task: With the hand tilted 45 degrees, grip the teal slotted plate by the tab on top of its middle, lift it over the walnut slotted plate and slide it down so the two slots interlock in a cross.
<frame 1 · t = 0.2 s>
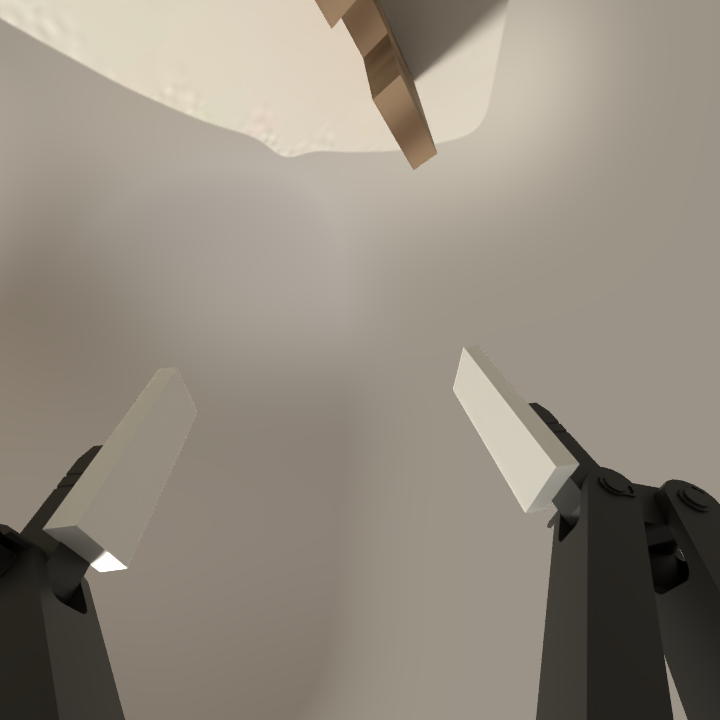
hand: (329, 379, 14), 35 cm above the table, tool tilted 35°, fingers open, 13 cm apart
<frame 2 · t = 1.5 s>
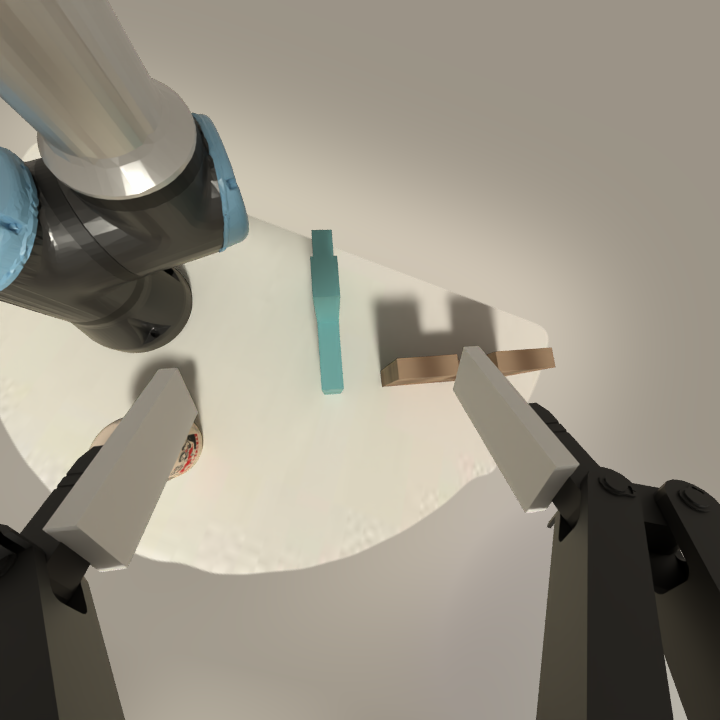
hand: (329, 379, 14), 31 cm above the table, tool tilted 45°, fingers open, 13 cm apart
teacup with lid: (178, 436, 42), on the table
teal slotted plate: (328, 331, 46), on the table
walnut slotted plate: (441, 374, 47), on the table
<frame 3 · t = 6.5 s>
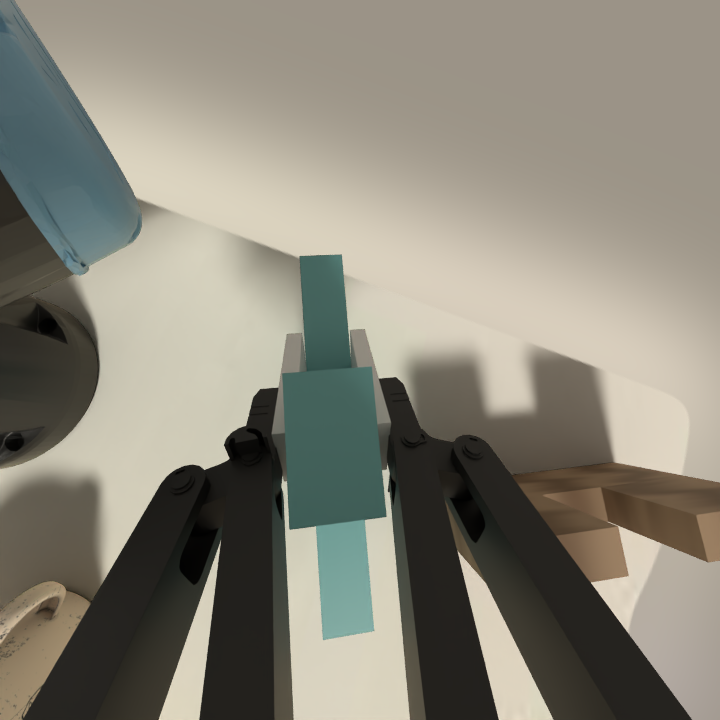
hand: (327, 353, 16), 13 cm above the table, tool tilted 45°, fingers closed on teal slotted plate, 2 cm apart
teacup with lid: (60, 626, 23), on the table
teal slotted plate: (333, 418, 27), on the table, touching gripper
walnut slotted plate: (524, 487, 28), on the table
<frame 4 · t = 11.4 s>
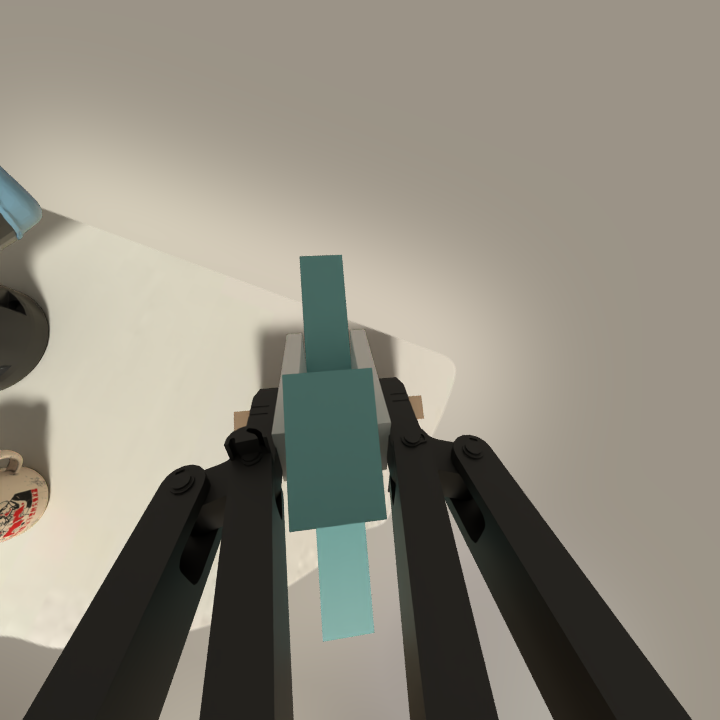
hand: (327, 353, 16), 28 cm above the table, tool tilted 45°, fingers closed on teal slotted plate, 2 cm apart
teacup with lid: (22, 489, 37), on the table
teal slotted plate: (333, 419, 27), point 15 cm above the table, touching gripper
walnut slotted plate: (331, 413, 42), on the table
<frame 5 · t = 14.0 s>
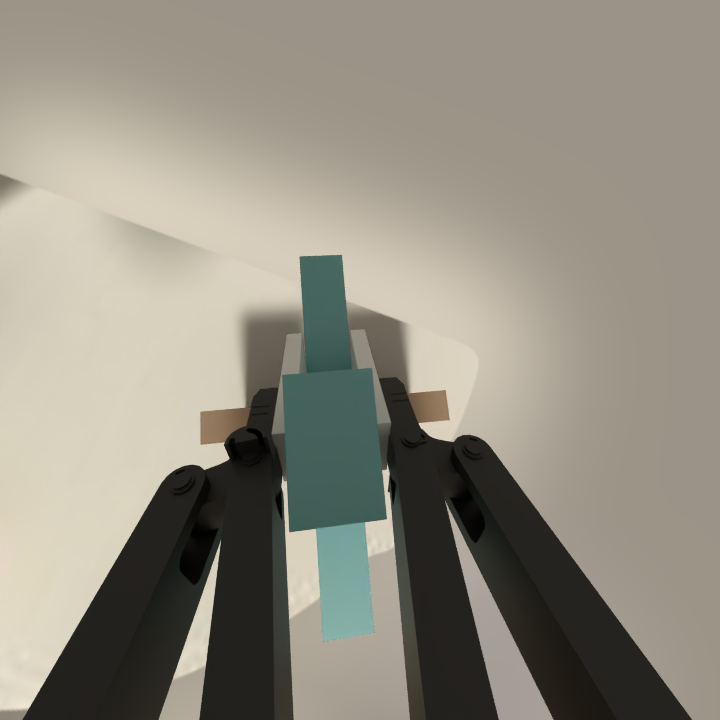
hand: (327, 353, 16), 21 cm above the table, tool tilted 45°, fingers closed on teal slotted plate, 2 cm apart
teal slotted plate: (333, 419, 27), point 8 cm above the table, touching gripper
walnut slotted plate: (330, 413, 35), on the table
when the fingers open (14 cm above the table, at t = 16.2 s): teal slotted plate stays where it is, on the table.
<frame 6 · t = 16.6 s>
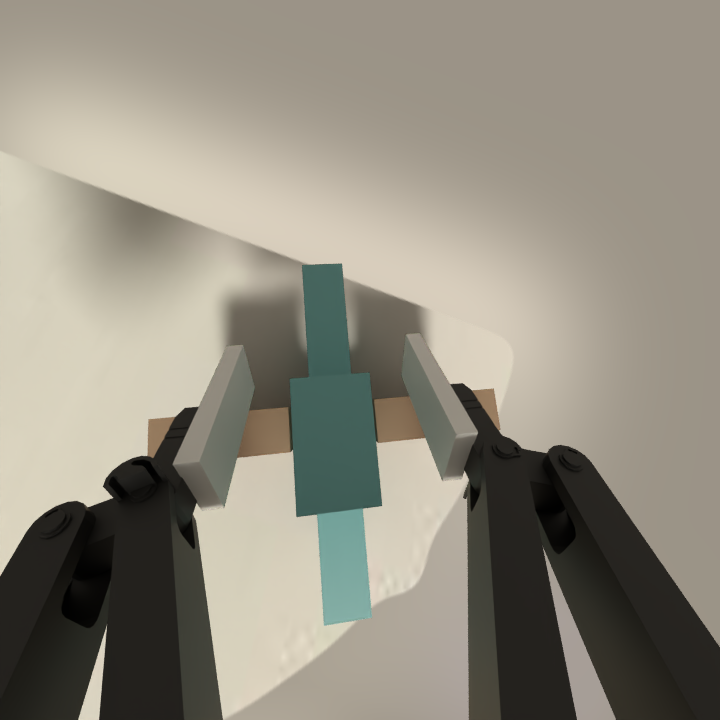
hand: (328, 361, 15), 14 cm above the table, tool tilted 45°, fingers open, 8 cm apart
teal slotted plate: (333, 418, 28), on the table
walnut slotted plate: (333, 418, 28), on the table
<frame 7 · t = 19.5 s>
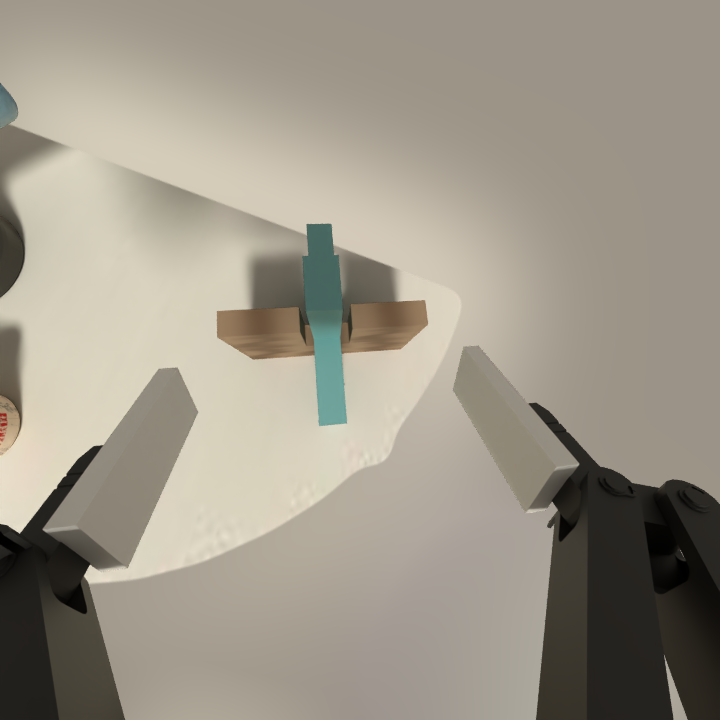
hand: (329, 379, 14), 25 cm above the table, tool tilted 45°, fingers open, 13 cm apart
teal slotted plate: (328, 345, 39), on the table
walnut slotted plate: (328, 345, 39), on the table
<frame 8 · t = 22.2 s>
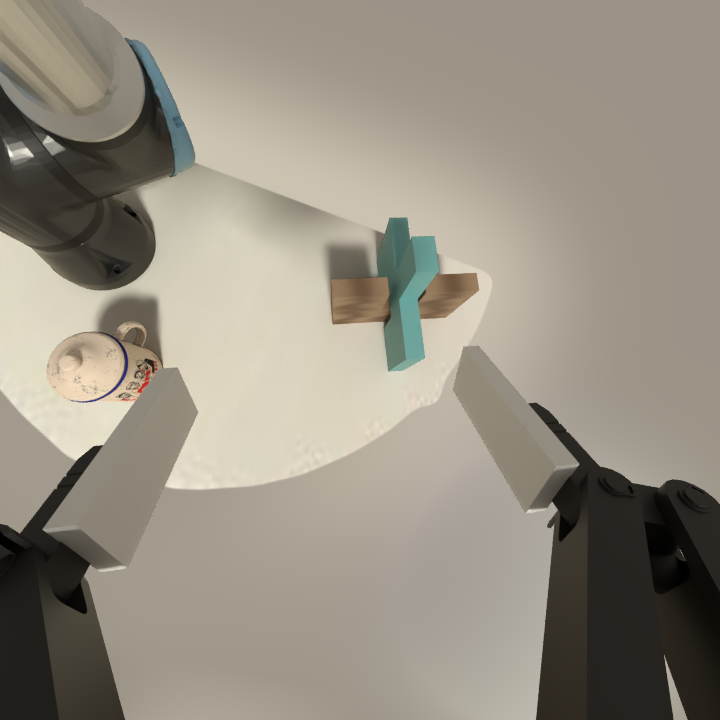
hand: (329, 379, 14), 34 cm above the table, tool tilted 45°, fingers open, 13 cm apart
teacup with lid: (140, 365, 45), on the table
teal slotted plate: (389, 314, 50), on the table
walnut slotted plate: (389, 314, 50), on the table
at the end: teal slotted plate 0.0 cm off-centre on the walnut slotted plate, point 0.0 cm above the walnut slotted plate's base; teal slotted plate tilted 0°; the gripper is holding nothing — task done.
